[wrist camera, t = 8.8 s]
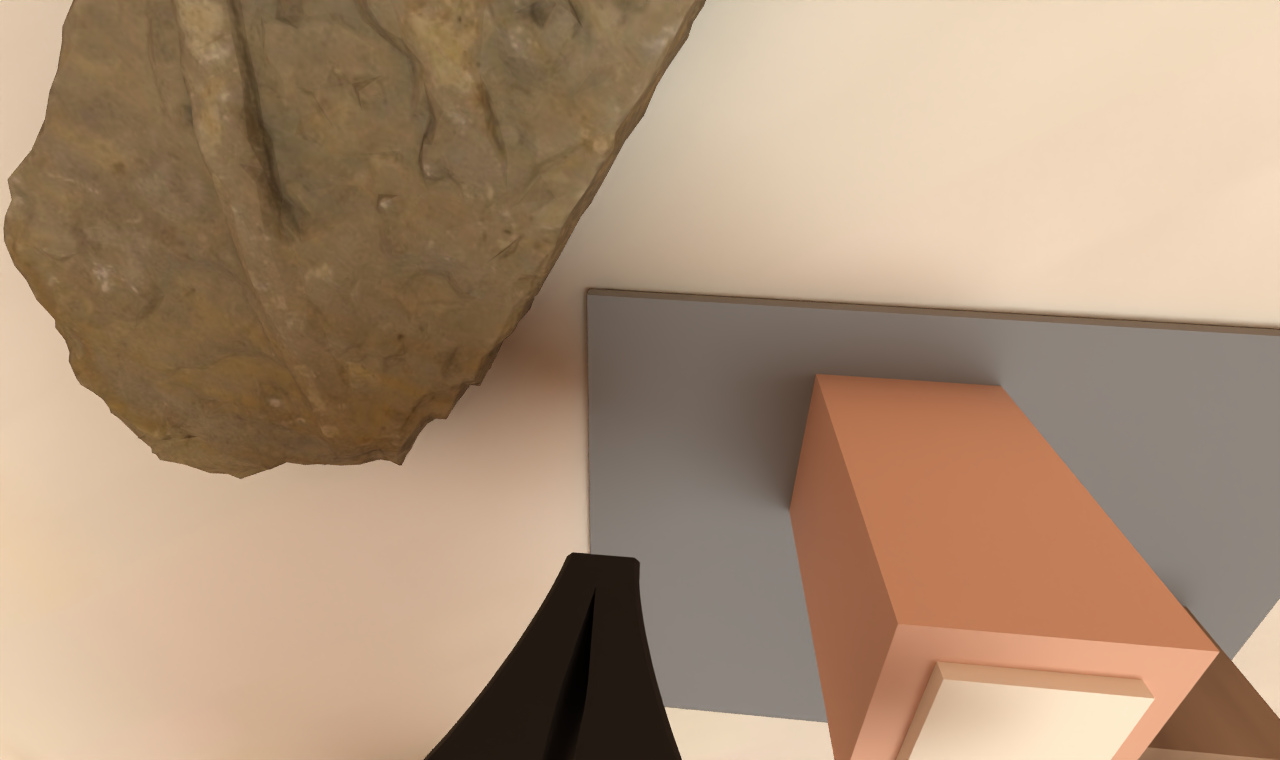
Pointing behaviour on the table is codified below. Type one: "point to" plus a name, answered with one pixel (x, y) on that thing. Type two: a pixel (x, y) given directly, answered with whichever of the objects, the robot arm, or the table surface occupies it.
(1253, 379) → the rubber mat
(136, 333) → the stone slab
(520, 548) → the table surface
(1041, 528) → the terracotta block
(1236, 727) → the walnut block
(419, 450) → the table surface
